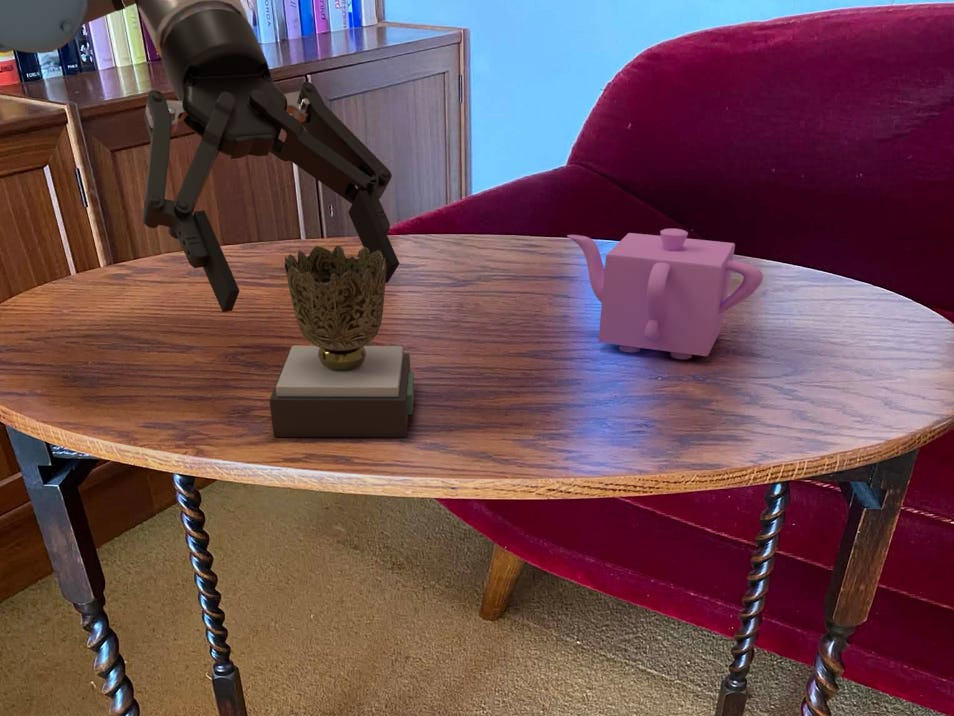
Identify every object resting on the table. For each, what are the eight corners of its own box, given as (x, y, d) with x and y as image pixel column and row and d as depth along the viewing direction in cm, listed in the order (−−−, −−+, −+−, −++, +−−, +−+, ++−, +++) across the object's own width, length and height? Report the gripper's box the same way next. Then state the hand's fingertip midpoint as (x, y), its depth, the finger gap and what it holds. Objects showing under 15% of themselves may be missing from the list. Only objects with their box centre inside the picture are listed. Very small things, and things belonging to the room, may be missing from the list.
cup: (278, 376, 72) (266, 266, 68) (315, 344, 78) (306, 241, 73) (373, 386, 71) (367, 274, 66) (403, 353, 77) (399, 248, 72)
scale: (273, 437, 72) (267, 388, 70) (291, 387, 81) (286, 343, 78) (411, 437, 73) (410, 389, 70) (415, 388, 81) (414, 343, 79)
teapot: (541, 352, 88) (547, 236, 83) (581, 309, 99) (589, 203, 93) (739, 378, 84) (761, 257, 78) (758, 331, 94) (778, 221, 88)
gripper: (333, 70, 84) (430, 288, 83) (38, 86, 72) (149, 341, 71) (360, 0, 77) (466, 236, 76) (41, 5, 65) (163, 285, 64)
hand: (314, 287), depth 74 cm, fingers open, 13 cm apart
